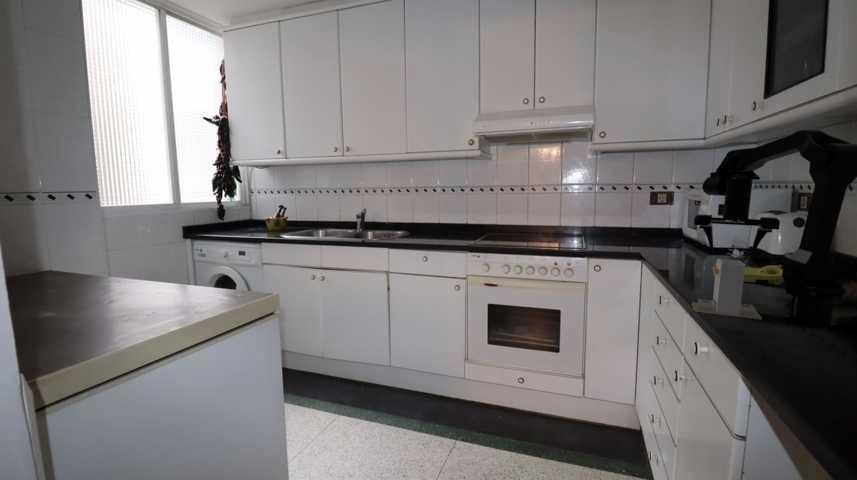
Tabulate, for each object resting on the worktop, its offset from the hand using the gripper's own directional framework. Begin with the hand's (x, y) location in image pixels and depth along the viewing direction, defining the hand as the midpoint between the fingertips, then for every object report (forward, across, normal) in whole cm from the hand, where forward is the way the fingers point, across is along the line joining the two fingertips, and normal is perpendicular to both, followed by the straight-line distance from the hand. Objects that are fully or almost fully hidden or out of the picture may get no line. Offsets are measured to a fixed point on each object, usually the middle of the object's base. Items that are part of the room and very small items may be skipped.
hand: (731, 252), depth 114 cm
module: (+12, 0, +20) cm, 24 cm away
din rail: (+12, 0, +20) cm, 24 cm away
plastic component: (+12, -6, -22) cm, 26 cm away
